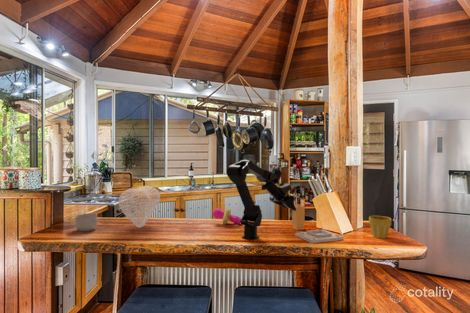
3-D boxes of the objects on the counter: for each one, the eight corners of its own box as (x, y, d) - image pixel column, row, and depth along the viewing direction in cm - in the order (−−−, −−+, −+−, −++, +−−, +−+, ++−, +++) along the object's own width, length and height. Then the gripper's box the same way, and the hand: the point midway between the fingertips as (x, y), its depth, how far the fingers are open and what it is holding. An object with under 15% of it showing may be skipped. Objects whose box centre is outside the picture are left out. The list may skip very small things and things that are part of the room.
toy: (238, 228, 175) (244, 211, 179) (208, 218, 177) (215, 201, 181) (238, 231, 184) (244, 215, 188) (210, 221, 187) (216, 205, 191)
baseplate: (311, 243, 145) (311, 237, 145) (295, 235, 158) (295, 230, 158) (343, 239, 152) (343, 234, 152) (324, 232, 165) (325, 227, 165)
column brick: (296, 230, 170) (297, 205, 170) (292, 228, 175) (292, 204, 175) (304, 229, 172) (304, 205, 172) (299, 227, 176) (299, 203, 176)
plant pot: (389, 240, 151) (390, 220, 151) (366, 237, 157) (367, 218, 157) (392, 236, 160) (392, 217, 160) (370, 233, 165) (370, 214, 165)
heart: (140, 234, 156) (140, 190, 156) (112, 232, 160) (112, 189, 159) (164, 222, 184) (164, 185, 184) (139, 221, 187) (140, 184, 187)
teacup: (96, 231, 162) (96, 216, 162) (73, 233, 158) (73, 217, 158) (97, 225, 175) (98, 211, 175) (76, 227, 171) (76, 212, 171)
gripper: (292, 180, 161) (309, 200, 165) (274, 177, 178) (291, 195, 182) (278, 196, 158) (296, 216, 162) (261, 191, 175) (279, 210, 180)
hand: (290, 208), depth 172 cm, fingers open, 9 cm apart
